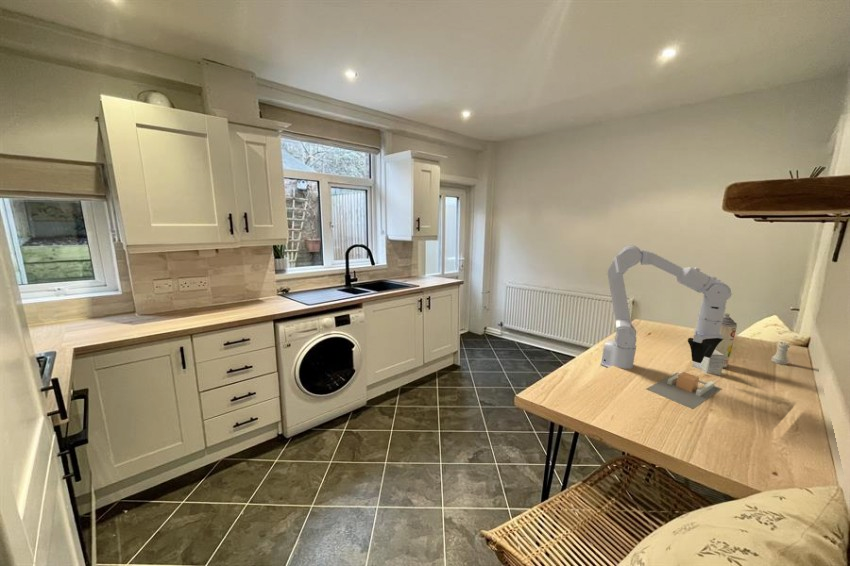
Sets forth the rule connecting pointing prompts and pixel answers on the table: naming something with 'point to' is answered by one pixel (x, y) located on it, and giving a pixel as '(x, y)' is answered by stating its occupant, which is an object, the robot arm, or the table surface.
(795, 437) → the table surface
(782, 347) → the rook chess piece
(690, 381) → the block
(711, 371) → the medicine box
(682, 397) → the channel
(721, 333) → the aerosol can
